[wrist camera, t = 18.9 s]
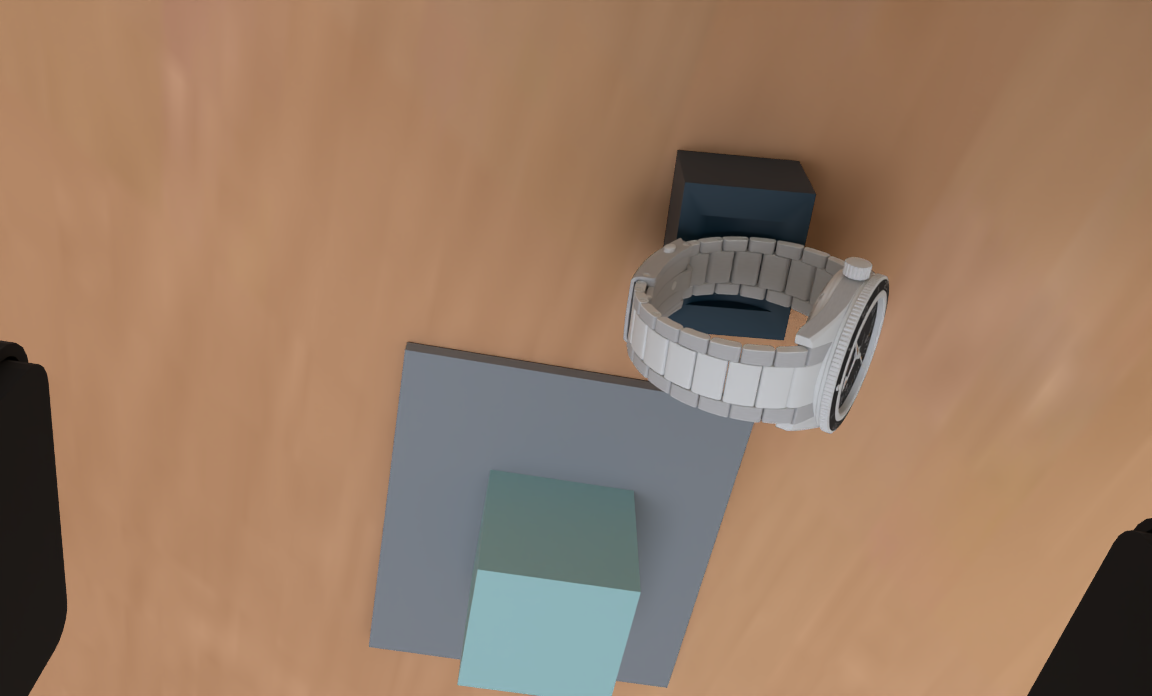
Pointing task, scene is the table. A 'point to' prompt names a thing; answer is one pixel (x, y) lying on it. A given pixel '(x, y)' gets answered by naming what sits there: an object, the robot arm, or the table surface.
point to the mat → (551, 450)
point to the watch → (752, 299)
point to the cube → (551, 587)
